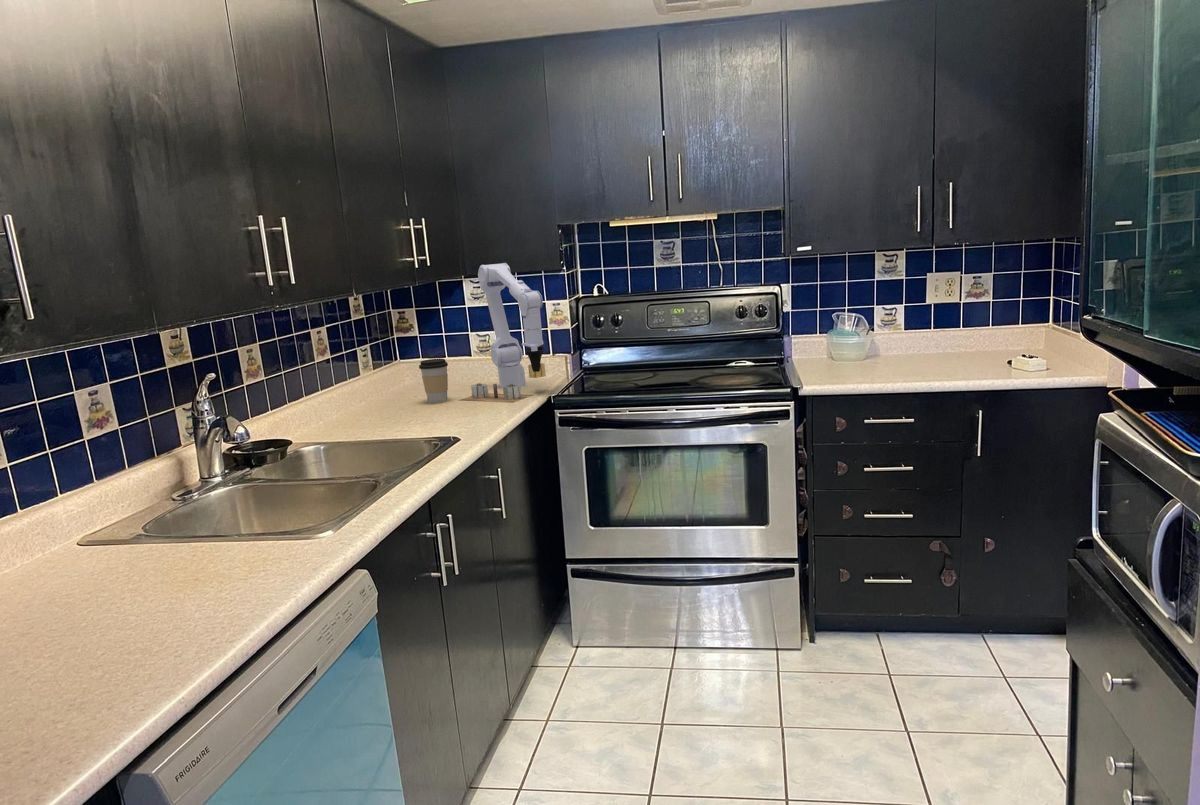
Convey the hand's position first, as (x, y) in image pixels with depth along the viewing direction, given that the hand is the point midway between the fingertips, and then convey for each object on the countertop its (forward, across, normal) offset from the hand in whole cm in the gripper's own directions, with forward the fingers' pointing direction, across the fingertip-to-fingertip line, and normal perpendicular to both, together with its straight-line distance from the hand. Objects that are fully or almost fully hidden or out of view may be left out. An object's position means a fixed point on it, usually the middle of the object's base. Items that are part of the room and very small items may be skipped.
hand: (536, 370), depth 268 cm
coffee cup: (+9, 0, -33) cm, 34 cm away
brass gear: (+2, 0, 0) cm, 2 cm away
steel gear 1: (+8, -1, -19) cm, 21 cm away
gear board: (+9, +3, -14) cm, 17 cm away
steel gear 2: (+7, +6, -8) cm, 13 cm away
